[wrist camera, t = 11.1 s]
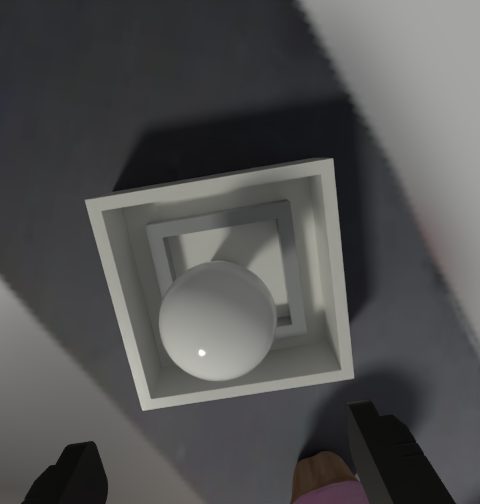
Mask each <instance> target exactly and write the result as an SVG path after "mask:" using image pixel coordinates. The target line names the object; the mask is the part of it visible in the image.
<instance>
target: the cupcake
mask: <svg viewBox="0 0 480 504" xmlns="http://www.w3.org/2000/svg"><path fill="white" fill-rule="evenodd" d="M290 504H369V501H368V499H367V496H366V493H365V491H364V488H363V486H362V483H361V482H359V481H358V480H357V479H356V477H355V476H354V474H353V473H352V471H351V470H350V468H349V467H348V466H347V465H346V463H345V462H344V461H343V460H342V458H341V457H340V456H338V455H337V454H335V453H333V452H330V451H321V452H320V453H318V454H317V455H315V456H313V457H309V458H305V459H302V460H300V461H299V462H298V463H297V465H296V467H295V471H294V475H293V486H292V498H291V502H290Z"/></svg>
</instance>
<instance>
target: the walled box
mask: <svg viewBox="0 0 480 504" xmlns="http://www.w3.org/2000/svg"><path fill="white" fill-rule="evenodd" d="M85 203H86V207H87V210H88V214H89V218H90V221H91V225H92V228H93V232H94V236H95V239H96V243H97V247H98V250H99V254H100V258H101V261H102V265H103V269H104V272H105V276H106V280H107V283H108V287H109V291H110V294H111V298H112V302H113V305H114V309H115V312H116V316H117V320H118V323H119V327H120V331H121V334H122V338H123V342H124V345H125V349H126V353H127V356H128V360H129V364H130V367H131V371H132V375H133V378H134V382H135V386H136V389H137V393H138V396H139V400H140V404H141V407H142V411H143V410H150V409H157V408H163V407H170V406H176V405H183V404H190V403H196V402H203V401H209V400H216V399H222V398H229V397H236V396H242V395H249V394H255V393H262V392H269V391H275V390H282V389H288V388H295V387H302V386H308V385H315V384H321V383H328V382H334V381H341V380H348V379H354V371H353V361H352V350H351V340H350V329H349V319H348V309H347V298H346V288H345V277H344V267H343V256H342V246H341V236H340V225H339V215H338V204H337V194H336V183H335V173H334V163H333V158H309V159H303V160H297V161H291V162H286V163H280V164H274V165H268V166H262V167H256V168H250V169H244V170H238V171H232V172H226V173H221V174H215V175H209V176H203V177H197V178H191V179H185V180H179V181H173V182H167V183H162V184H156V185H150V186H144V187H138V188H132V189H126V190H120V191H114V192H110V193H107V194H103V195H100V196H97V197H93V198H90V199H87V200H85ZM218 260H226V261H230V262H232V263H236V264H239V265H241V266H243V267H245V268H247V269H249V270H251V271H252V272H253V273H255V274H256V275H257V276H258V277H259V278H260V279H261V280H262V281H263V282H264V283H265V285H266V286H267V288H268V289H269V291H270V293H271V295H272V297H273V300H274V303H275V306H276V311H277V329H276V334H275V338H274V341H273V344H272V346H271V348H270V350H269V352H268V353H267V355H266V356H265V358H264V359H263V360H262V361H261V362H260V363H259V364H258V365H257V366H256V367H255V368H254V369H252V370H251V371H250V372H248V373H246V374H244V375H242V376H240V377H238V378H235V379H231V380H226V381H208V380H203V379H200V378H197V377H195V376H192V375H190V374H188V373H187V372H185V371H184V370H182V369H181V368H180V367H179V366H178V365H177V364H176V363H175V362H174V361H173V360H172V359H171V358H170V356H169V355H168V353H167V351H166V350H165V348H164V345H163V343H162V340H161V336H160V331H159V313H160V307H161V304H162V301H163V298H164V296H165V294H166V292H167V290H168V289H169V287H170V286H171V284H172V283H173V282H174V281H175V280H176V279H177V278H178V277H179V276H180V275H181V274H182V273H184V272H185V271H186V270H188V269H190V268H192V267H194V266H196V265H198V264H201V263H205V262H210V261H218Z"/></svg>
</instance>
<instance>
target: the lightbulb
mask: <svg viewBox="0 0 480 504" xmlns="http://www.w3.org/2000/svg"><path fill="white" fill-rule="evenodd" d="M276 329H277V311H276V306H275V303H274V300H273V297H272V295H271V293H270V291H269V289H268V288H267V286H266V285H265V283H264V282H263V281H262V280H261V279H260V278H259V277H258V276H257V275H256V274H255V273H253V272H252V271H251V270H249V269H247V268H245V267H243V266H241V265H239V264H236V263H232V262H230V261H226V260H218V261H210V262H205V263H201V264H198V265H196V266H194V267H192V268H190V269H188V270H186V271H185V272H184V273H182V274H181V275H180V276H179V277H178V278H177V279H176V280H175V281H174V282H173V283H172V284H171V286H170V287H169V289H168V290H167V292H166V294H165V296H164V298H163V301H162V304H161V307H160V313H159V331H160V336H161V340H162V343H163V345H164V348H165V350H166V351H167V353H168V355H169V356H170V358H171V359H172V360H173V361H174V362H175V363H176V364H177V365H178V366H179V367H180V368H181V369H182V370H184V371H185V372H187V373H188V374H190V375H192V376H195V377H197V378H200V379H203V380H208V381H226V380H231V379H235V378H238V377H240V376H242V375H244V374H246V373H248V372H250V371H251V370H252V369H254V368H255V367H256V366H257V365H258V364H259V363H260V362H261V361H262V360H263V359H264V358H265V356H266V355H267V353H268V352H269V350H270V348H271V346H272V344H273V341H274V338H275V334H276Z"/></svg>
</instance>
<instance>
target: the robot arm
mask: <svg viewBox="0 0 480 504" xmlns="http://www.w3.org/2000/svg"><path fill="white" fill-rule="evenodd" d="M345 409H346V419H347V428H348V438H349V446H350V451H351V455H352V459H353V462H354V465H355V468H356V470H357V473H358V476H359V478H360V481H361V483H362V486H363V488H364V491H365V493H366V496H367V499H368V501H369V504H456V503H455V502H454V500H453V498H452V497H451V495H450V494H449V492H448V490H447V489H446V487H445V486H444V484H443V483H442V481H441V479H440V478H439V476H438V475H437V473H436V472H435V470H434V468H433V467H432V465H431V464H430V462H429V461H428V459H427V457H426V456H424V453H423V451H422V450H421V448H420V446H419V445H418V443H416V440H415V439H414V437H413V435H412V434H411V432H410V431H409V429H408V428H407V426H406V425H405V424H403V423H402V422H401V421H399V420H398V419H397V418H396V417H394V416H393V415H386V416H379V414H378V412H377V411H376V409H375V407H374V405H373V403H372V402H371V400H362V401H356V402H349V403H346V404H345ZM107 494H108V481H107V477H106V474H105V471H104V468H103V464H102V462H101V458H100V455H99V452H98V449H97V446H96V444H95V443H94V442H93V441H89V442H83V443H76V444H70V445H68V446H66V447H65V449H64V450H63V452H62V454H61V456H60V458H59V459H58V461H57V463H56V465H51V466H49V467H48V468H47V469H46V470H45V471H44V472H43V473H42V474H41V475H40V476H39V477H38V478H37V479H36V480H35V481H34V483H33V485H32V486H31V488H30V490H29V492H28V493H27V495H26V497H25V500H24V501H23V502H22V503H21V504H105V503H106V500H107Z"/></svg>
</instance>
